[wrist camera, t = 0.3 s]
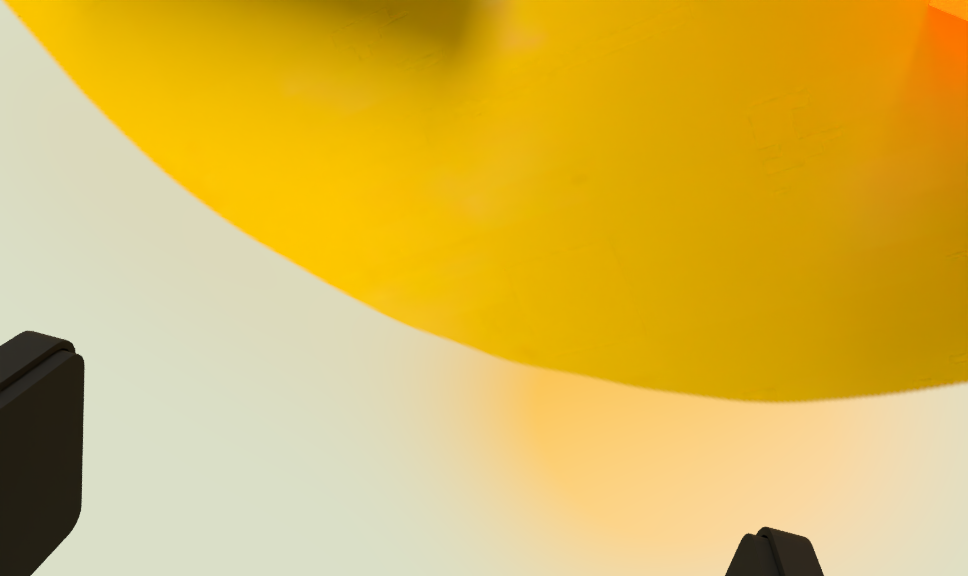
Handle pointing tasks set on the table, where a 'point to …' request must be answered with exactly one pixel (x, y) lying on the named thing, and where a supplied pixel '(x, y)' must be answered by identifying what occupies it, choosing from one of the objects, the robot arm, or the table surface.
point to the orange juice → (952, 7)
